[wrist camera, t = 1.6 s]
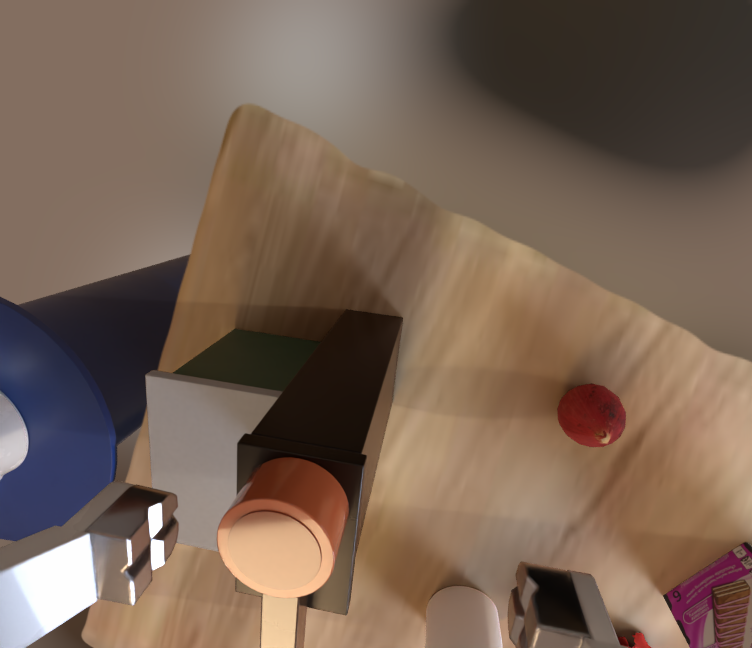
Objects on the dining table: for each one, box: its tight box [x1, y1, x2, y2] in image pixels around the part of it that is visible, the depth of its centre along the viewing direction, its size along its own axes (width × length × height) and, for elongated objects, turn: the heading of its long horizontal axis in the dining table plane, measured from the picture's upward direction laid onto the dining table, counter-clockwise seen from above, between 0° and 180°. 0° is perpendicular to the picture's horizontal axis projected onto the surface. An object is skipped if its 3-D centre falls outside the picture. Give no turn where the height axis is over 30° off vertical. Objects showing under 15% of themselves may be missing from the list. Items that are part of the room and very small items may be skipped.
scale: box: [145, 329, 321, 552], centre depth 44 cm, size 11×16×16 cm
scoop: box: [217, 457, 349, 648], centre depth 24 cm, size 6×18×3 cm, turn 174°
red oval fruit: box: [557, 384, 626, 447], centre depth 43 cm, size 6×6×8 cm
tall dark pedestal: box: [236, 309, 403, 615], centre depth 36 cm, size 7×10×26 cm, turn 174°
